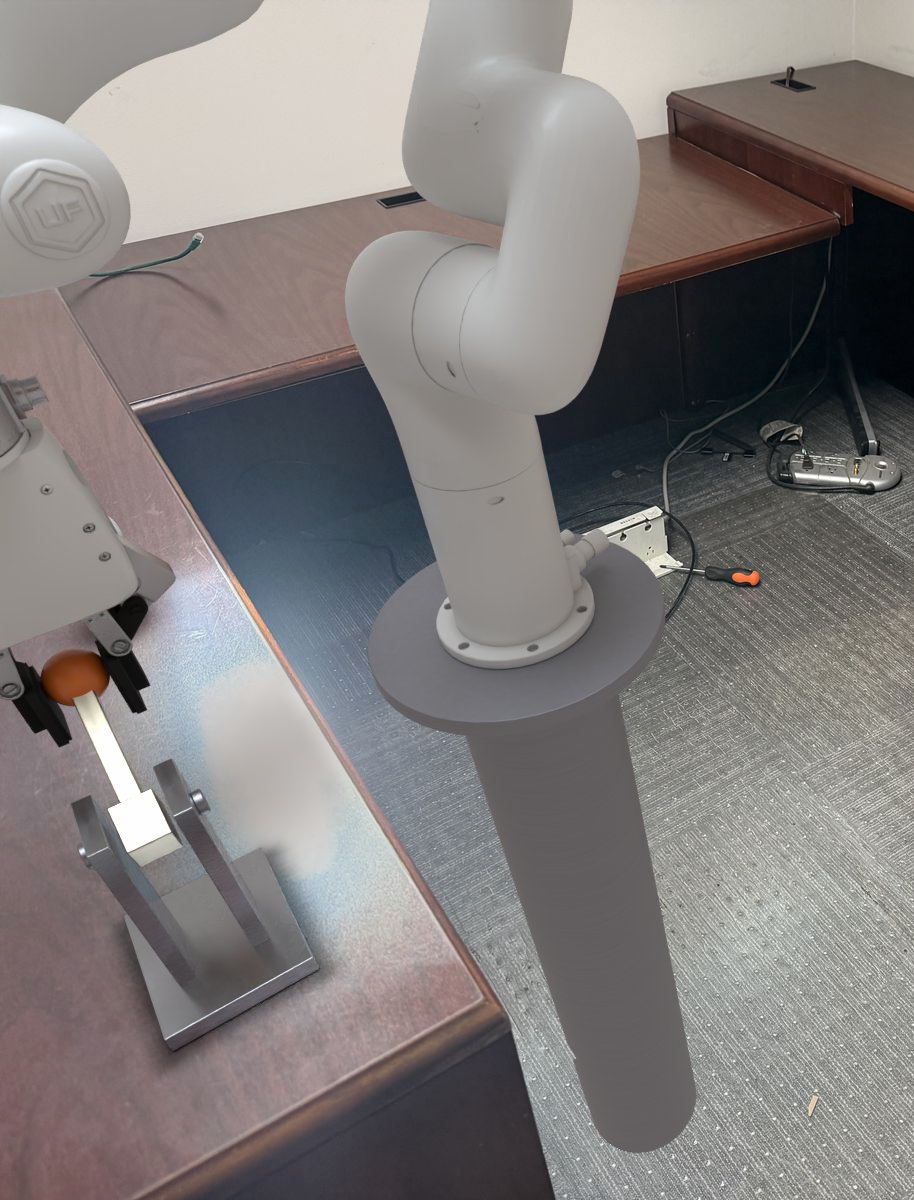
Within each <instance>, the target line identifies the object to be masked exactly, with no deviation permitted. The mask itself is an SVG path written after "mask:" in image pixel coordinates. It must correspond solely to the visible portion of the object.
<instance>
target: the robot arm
mask: <svg viewBox="0 0 914 1200" xmlns="http://www.w3.org/2000/svg"><path fill="white" fill-rule="evenodd" d="M264 1H265V0H0V299H6V298H12V297H17V296H24V295H29V294H33V293H39V292H43V291H48V290H52V289H57V288H61V287H64V286H67V285H70V284H73V283H74V284H75V283H76V282H80V281H81V280H83V279H86V278H88V277H89V276H92V275H93V274H94V273H96V272H98V271H100V270H101V269H102V268H104V266H106V265H108V264H109V262H111V261H112V260H113V258H115V256H116V255H117V253H118V252H119V251H120V249H121V248H122V246H123V244H124V243H125V241H126V238H127V236H128V232H129V230H130V225H131V217H132V216H131V213H132V212H131V201H130V197H129V193H128V190H127V187H126V184H125V182H124V180H123V178H122V177H123V176H121V174H120V171H119V170H118V168H117V167H116V166H115V164H114V163H113V162H112V160H110V158H109V157H108V156H107V154H106V153H105V152H104V151H102V149H101V148H99V147H98V146H97V145H96V144H95V143H94V142H93V141H92V140H90V139H89V138H87V137H86V136H85V135H83V134H82V133H80V132H79V131H77V130H75V129H74V128H73V127H70V126H68V125H66V123H67V121H68V120H69V119H70V118H71V117H72V116H73V115H74V113H76V112H77V110H78V109H79V108H80V107H81V106H83V104H84V103H86V102H87V101H88V100H89V99H91V97H93V95H95V94H96V93H97V92H98V91H100V90H101V89H102V88H104V87H105V86H107V85H108V84H109V83H111V81H114V80H115V79H116V78H119V77H120V76H122V75H124V74H125V73H126V72H128V71H131V70H132V69H134V68H137V67H139V66H140V65H143V64H145V63H147V62H150V61H153V60H155V59H157V58H158V59H159V58H161V57H164V56H166V55H167V56H168V55H170V54H173V53H176V52H179V51H182V50H186V49H188V48H192V47H195V46H197V45H201V44H202V43H205V42H208V41H210V40H213V39H215V38H217V37H219V36H221V35H224V34H225V33H227V32H229V31H231V30H233V29H235V28H237V27H238V26H240V25H242V24H243V23H245V22H246V21H248V20H249V19H250V18H252V16H253V15H254V14H255V13H257V12H258V10H260V9H259V8H260V7H261V6H262V4H263V3H264ZM573 7H574V0H429V3H428V8H427V9H428V10H427V14H426V18H425V23H424V29H423V31H422V32H423V33H422V37H421V43H420V47H419V51H418V56H417V61H416V66H415V71H414V75H413V76H414V77H413V80H412V85H411V89H410V95H409V100H408V104H407V109H406V113H405V114H406V115H405V119H404V126H403V130H402V139H401V159H402V165H403V169H404V171H405V175H406V177H407V180H408V182H409V183H410V186H412V187H413V189H415V191H416V192H417V194H418V195H419V196H420V197H421V198H422V199H424V200H426V201H427V202H429V203H430V204H432V205H433V206H435V207H437V208H438V209H441V210H443V211H446V212H448V213H450V214H453V215H456V216H459V217H462V218H466V219H470V220H474V221H478V222H480V223H481V222H482V223H485V224H489V225H492V226H493V225H494V226H497V227H501V228H503V230H502V236H501V240H500V246H499V249H498V248H495V247H493V246H491V245H488V244H484V243H480V242H476V241H472V240H469V239H464V238H462V237H461V238H460V237H459V236H458V237H457V236H453V235H449V234H445V233H440V232H435V231H430V230H429V231H428V230H402V231H395V232H392V233H388V234H386V235H383V236H381V237H379V238H377V239H375V240H374V241H372V242H371V243H369V244H368V245H366V246H365V247H364V249H363V250H362V251H361V252H360V253H359V254H358V255H357V257H356V258H355V260H354V262H353V264H352V265H351V268H350V270H349V273H348V275H347V279H346V282H345V289H344V308H345V315H346V321H347V324H348V329H349V331H350V334H351V338H352V341H353V343H354V345H355V348H356V349H357V352H358V354H359V356H360V358H361V360H362V363H364V365H365V367H366V369H367V371H368V373H369V375H370V377H371V378H372V379H371V380H373V382H374V384H375V386H376V388H377V390H378V392H379V394H380V396H381V398H382V400H383V402H384V404H385V406H386V409H387V411H388V415H389V416H390V418H391V422H392V424H393V426H394V429H395V431H396V435H397V437H398V440H399V441H398V442H399V443H400V444H399V445H400V447H401V449H402V453H403V456H404V460H405V463H406V465H407V469H408V472H409V475H410V478H411V482H412V485H413V488H414V491H415V495H416V498H417V501H418V504H419V508H420V511H421V514H422V517H423V520H424V524H425V527H426V530H427V533H428V536H429V541H430V543H431V547H432V549H433V553H434V556H435V560H436V561H437V563H438V566H439V569H440V572H441V575H442V579H443V582H444V585H445V588H446V592H447V595H448V597H447V598H446V599H445V600H444V602H443V604H442V605H441V607H440V609H439V612H438V615H437V618H436V628H437V632H438V635H439V639H440V641H441V643H442V645H443V647H444V649H445V650H446V651H447V652H448V653H449V654H450V655H451V656H453V657H454V658H456V659H458V660H459V661H461V662H463V663H466V664H469V665H472V666H476V667H482V668H488V669H508V668H518V667H523V666H527V665H531V664H535V663H538V662H541V661H543V660H546V659H549V658H551V657H553V656H555V655H557V654H559V653H561V652H562V651H564V650H565V649H567V648H568V647H570V646H571V645H573V644H574V643H575V642H576V641H577V640H578V639H579V638H580V637H581V636H582V635H583V634H584V633H585V631H586V630H587V629H588V627H589V626H590V624H591V622H592V619H593V617H594V611H595V603H594V596H593V592H592V590H591V587H590V585H589V584H588V582H587V581H586V579H585V578H584V577H582V576H581V575H580V572H582V571H583V570H584V569H585V567H586V562H587V561H588V560H589V559H591V558H594V557H596V556H597V555H598V554H600V553H601V552H602V551H604V550H605V549H606V548H608V546H609V542H610V540H609V539H610V538H608V536H607V534H606V532H604V531H603V530H602V529H600V528H594V529H592V530H591V531H590V532H588V533H587V534H584V535H585V536H584V537H583V538H581V539H580V540H579V542H578V543H577V544H575V545H574V546H572V544H573V543H575V541H576V539H575V536H574V534H575V533H574V534H573V532H572V531H571V530H569V529H566V528H565V529H564V530H563V531H561V530H560V529H561V528H560V526H559V521H558V520H559V519H558V516H557V511H556V507H555V501H554V498H553V492H552V488H551V484H550V478H549V473H548V470H547V465H546V459H545V456H544V450H543V446H542V439H541V436H540V431H539V427H538V422H537V419H536V416H543V415H548V414H552V413H555V412H557V411H559V410H562V409H563V408H565V407H567V406H568V405H569V404H570V403H572V401H573V400H575V399H576V397H578V395H579V394H580V393H581V391H582V390H583V389H584V387H585V386H586V384H587V383H588V381H589V379H590V377H591V376H592V373H593V371H594V369H595V366H596V363H597V361H598V358H599V355H600V352H601V348H602V345H603V342H604V338H605V335H606V331H607V327H608V324H609V319H610V316H611V311H612V309H613V308H612V307H613V304H614V300H615V296H616V293H617V287H618V284H619V281H620V276H621V273H622V268H623V264H624V261H625V257H626V253H627V248H628V244H629V241H630V237H631V232H632V229H633V224H634V220H635V217H636V210H637V205H638V201H639V195H640V187H641V159H640V150H639V148H640V147H639V145H638V138H637V135H636V131H635V129H634V126H633V124H632V122H631V119H630V116H629V115H628V113H627V111H626V110H625V108H624V106H622V104H621V103H620V101H619V100H618V99H617V98H616V97H615V96H614V95H613V94H612V93H611V92H610V91H608V90H607V89H606V88H604V87H603V86H601V85H599V84H598V83H595V82H594V81H593V82H592V81H590V80H588V79H585V78H583V77H578V76H575V75H570V74H565V73H562V72H563V67H564V63H565V62H564V61H565V57H566V50H567V44H568V39H569V34H570V28H571V23H572V18H573V9H574V8H573ZM49 402H50V401H49V399H48V397H47V394H46V393H45V391H44V389H43V387H42V384H41V383H40V381H39V379H38V377H37V376H36V374H35V375H31V376H27V377H24V378H21V379H18V377H17V376H16V377H13V378H9V379H8V378H7V376H6V375H5V374H4V373H2V374H0V699H1V700H3V701H11V703H12V704H13V705H14V707H15V709H16V710H17V711H18V712H19V714H20V715H21V717H22V718H23V720H24V721H25V723H26V724H27V725H28V727H29V728H30V730H31V731H32V733H33V734H34V735H35V734H39V733H41V732H43V731H47V732H48V734H49V736H50V738H52V740H53V741H54V742H55V744H56V746H57V747H58V748H63V747H65V746H67V745H70V741H72V740H73V736H72V733H71V731H70V728H69V725H68V721H67V719H66V715H65V714H64V711H63V710H62V708H61V706H60V704H59V703H56V702H55V701H53V700H52V699H50V698H49V697H48V696H47V695H46V693H45V692H44V690H43V688H42V686H41V681H40V677H41V675H40V674H39V672H38V671H37V669H36V668H35V667H34V665H28V663H27V662H26V661H25V662H22V661H17V660H16V657H15V655H14V653H13V650H12V647H14V646H16V645H19V644H22V643H25V642H27V641H30V640H33V639H35V638H37V637H40V636H41V637H42V636H44V635H46V634H48V633H51V632H53V631H56V630H59V629H62V628H65V627H66V626H69V625H71V624H75V623H77V622H79V621H82V622H83V623H84V625H85V626H86V628H88V629H89V631H90V632H91V633H92V634H93V635H94V638H95V640H94V643H95V647H96V649H97V651H98V653H99V654H98V655H99V656H100V657H101V659H102V661H103V664H104V666H105V668H106V670H107V671H108V673H109V675H110V679H111V681H112V682H113V684H114V685H115V687H116V689H117V690H118V691H119V693H120V695H121V697H122V698H123V700H124V702H125V703H126V705H127V707H128V709H129V710H130V712H131V713H132V714H133V715H134V714H135V713H136V714H137V715H140V714H142V713H144V712H147V711H148V708H147V706H146V704H145V703H146V702H145V701H144V699H143V696H142V694H141V692H140V691H142V690H144V689H146V688H149V687H151V686H152V685H151V683H150V681H149V678H148V676H147V674H146V673H145V671H144V668H143V667H142V665H141V663H140V661H139V660H138V658H137V657H136V655H135V653H134V651H133V647H134V646H133V645H134V644H133V642H132V641H133V639H134V637H135V636H136V634H137V632H138V630H139V628H140V627H141V624H142V623H143V622H144V620H145V618H146V616H147V613H148V611H149V607H150V606H151V605H152V604H153V603H156V602H157V601H158V600H159V599H160V598H161V597H162V596H163V595H164V594H165V593H166V592H167V591H168V590H169V589H170V588H171V587H172V586H173V585H174V583H176V580H177V576H176V574H175V572H174V570H173V569H172V567H171V564H169V563H168V562H167V561H165V560H164V559H162V558H160V557H158V556H157V555H155V554H153V553H152V552H150V551H148V550H147V549H144V548H143V547H141V546H140V545H137V544H136V543H134V542H132V541H130V540H128V538H126V537H124V536H123V537H122V536H120V535H119V534H118V533H117V531H116V529H115V527H114V525H113V524H112V522H111V520H110V519H109V517H110V516H109V515H108V514H107V511H106V510H105V508H104V507H103V505H102V504H101V502H100V500H99V499H98V497H97V495H96V494H95V492H94V490H93V489H92V487H91V485H90V483H89V482H88V480H87V479H86V478H85V476H84V475H83V473H82V471H81V470H80V467H78V465H77V464H76V462H75V460H74V459H73V458H72V457H71V455H70V454H69V453H68V451H67V450H66V448H64V446H63V445H62V444H61V442H60V441H59V440H58V438H57V437H56V435H54V434H53V432H52V431H51V430H50V429H49V428H48V426H47V425H46V424H45V423H44V422H43V421H42V420H41V419H40V418H38V417H36V416H33V415H27V414H26V412H29V411H32V410H34V407H36V406H39V405H42V404H46V403H49ZM108 516H109V517H108Z"/></svg>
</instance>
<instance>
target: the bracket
mask: <svg viewBox="0 0 914 1200" xmlns="http://www.w3.org/2000/svg"><path fill="white" fill-rule="evenodd" d="M152 769H153V772H154V774H155V777H156V779H157V781H158V784H159V786H160V789H161V791H162V794H163V797H164V798H165V801H166V804H167V806H168V809H169V811H170V814H171V816H172V818H173V820H174V821H175V823H176V825H177V826H178V828H179V829H180V831H181V833H182V834H183V836H184V838H185V840H186V841H187V843H188V844H189V845H190V847H191V849H192V851H193V852H194V854H195V855H196V857H197V859H198V861H199V863H201V865H202V866H203V868H204V870H205V871H206V873H207V874H204V875H202V876H200V877H199V878H195V880H193V881H191V882H188V883H187V884H185V885H183V886H180V887H179V888H176V889H174V890H173V891H170V892H169V893H166V894H165V895H162V896H161V895H160V894H159V892H158V891H157V890H156V888H155V886H154V885H153V884H152V883H151V881H150V879H149V878H148V877H147V875H146V874H145V872H144V871H143V869H142V867H140V866H138V865H137V864H136V862H135V861H134V860H133V859H132V858H131V857H130V856H129V855H128V854H127V853H126V851H125V849H124V847H123V844H122V842H121V840H120V838H119V836H118V833H117V831H116V829H115V827H114V825H112V823H111V822H110V821H109V819H108V817H107V816H106V815H105V813H104V811H103V810H102V809H101V807H100V806H99V804H98V802H97V801H96V800H95V798H94V797H93V796H92V794H89V795H86V796H84V797H82V798H80V799H78V800H77V799H76V800H75V801H73V802H71V803H70V804H69V805H70V809H71V811H72V815H73V818H74V821H75V824H76V828H77V832H78V834H79V838H80V840H81V843H78V844H77V845H76V849H77V853H78V855H79V857H80V859H81V861H82V862H83V864H84V865H85V867H86V868H87V869H88V870H92V869H94V870H95V871H96V873H97V874H98V875H99V877H100V878H101V880H102V881H103V882H104V884H105V885H106V887H107V888H108V889H109V890H110V892H111V893H112V895H113V896H114V898H115V899H116V900H117V902H118V903H119V904H120V906H121V907H122V909H123V910H124V911H125V913H126V914H125V915H123V919H124V922H125V925H126V929H127V931H128V934H129V937H130V941H131V943H132V946H133V949H134V952H135V955H136V958H137V962H138V965H139V968H140V970H141V974H142V976H143V980H144V983H145V986H146V989H147V992H148V995H149V999H150V1001H151V1004H152V1007H153V1010H154V1013H155V1016H156V1020H157V1023H158V1025H159V1028H160V1031H161V1034H162V1038H163V1041H164V1042H165V1043H166V1044H167V1045H168V1047H169V1049H171V1051H172V1052H175V1051H177V1050H178V1049H181V1048H182V1047H184V1046H186V1045H187V1044H190V1043H191V1042H192V1041H194V1040H197V1039H198V1038H199V1037H201V1036H203V1035H205V1034H207V1033H208V1032H211V1031H212V1030H214V1029H216V1028H217V1027H219V1026H221V1025H223V1024H225V1023H226V1022H228V1021H230V1020H231V1019H233V1018H235V1017H237V1016H239V1015H241V1014H242V1013H244V1012H246V1011H247V1010H250V1009H251V1008H253V1007H255V1006H256V1005H258V1004H260V1003H262V1002H263V1001H265V1000H266V999H268V998H270V997H273V996H274V995H276V994H277V993H279V992H281V991H283V990H284V989H286V988H288V987H289V986H291V985H293V984H295V983H297V982H299V981H301V980H303V979H304V978H306V977H307V976H309V975H312V974H313V973H315V972H317V971H319V969H320V967H319V965H318V963H317V960H316V959H315V956H314V954H313V952H312V950H311V947H310V945H309V943H308V942H307V939H306V937H305V935H304V933H303V931H302V929H301V927H300V925H299V923H298V921H297V918H296V916H295V915H294V914H295V913H294V912H293V910H292V907H291V906H290V904H289V902H288V900H287V898H286V897H287V896H285V893H284V890H283V889H282V887H281V884H280V882H279V881H278V879H277V876H276V874H275V872H274V870H273V868H272V866H271V863H270V862H269V860H268V858H267V856H266V854H265V852H264V850H263V848H262V847H257V848H256V849H254V850H252V851H250V852H248V853H246V854H244V855H242V856H240V857H238V858H236V859H234V860H233V859H232V857H231V856H230V854H229V852H228V850H227V849H226V847H225V845H224V843H223V842H222V841H221V840H222V839H220V836H219V835H218V834H217V832H216V830H215V829H214V827H213V825H212V823H211V821H210V820H209V818H208V817H207V814H209V813H211V812H212V809H211V806H210V804H209V802H208V800H207V798H206V797H205V795H204V793H203V791H202V790H201V789H200V788H196V789H194V790H192V789H191V787H190V786H189V784H188V782H187V781H186V779H185V777H184V776H183V774H182V772H181V770H180V769H179V767H178V766H177V764H176V761H175V760H174V759H173V758H169V759H166V760H165V761H162V762H160V763H158V764H155V765H153V766H152Z"/></svg>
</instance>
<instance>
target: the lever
mask: <svg viewBox="0 0 914 1200" xmlns="http://www.w3.org/2000/svg"><path fill="white" fill-rule="evenodd" d="M40 681H41V686H42V688H43V690H44V692H45V693H46V695H47V696H48V697H49V698H50V699H52V700H53V701H55V702H56V703H58V705H61V706H65V707H74V708H75V709H76V712H77V714H78V716H79V718H80V721H81V723H82V724H83V727H84V729H85V732H86V734H87V736H88V738H89V740H90V742H91V744H92V747H93V748H94V751H95V753H96V755H97V757H98V759H99V761H100V764H101V766H102V768H103V770H104V772H105V774H106V777H107V779H108V781H109V783H110V786H111V788H112V790H113V792H114V794H115V797H116V799H117V801H118V803H116V804H114V805H111V806H109V807H108V808H106V811H107V813H108V816H109V818H110V820H111V822H112V824H113V825H112V826H113V828H114V829H115V831H116V832H117V834H118V836H119V838H120V840H121V842H122V844H123V847H124V849H125V851H126V853H127V854H128V855H129V856H130V857H131V858H132V859H133V860H134V861H135V862H136V864H137V865H138V866H140V868H142V867H143V866H146V865H148V864H149V863H152V862H155V861H156V860H158V859H160V858H162V857H164V856H166V855H169V854H170V853H173V852H175V851H176V850H179V849H181V848H183V847H184V844H183V843H184V842H183V841H182V839H181V837H180V835H179V833H178V830H177V829H176V826H175V824H174V822H173V820H172V818H171V816H170V814H169V811H168V810H167V808H166V805H165V803H164V802H163V801H162V800H161V798H160V797H159V796H158V794H156V791H154V790H153V788H149V789H146V790H143V788H142V785H141V783H140V782H139V779H138V777H137V775H136V773H135V771H134V768H133V767H132V764H131V762H130V760H129V757H128V756H127V754H126V752H125V750H124V747H123V746H122V743H121V741H120V739H119V737H118V735H117V733H116V730H115V728H114V726H113V724H112V722H111V720H110V718H109V716H108V714H107V711H106V709H105V707H104V705H103V702H102V700H101V697H102V696H103V695H104V694H105V692H106V691H107V690H108V687H109V685H110V681H111V676H110V675H109V673H108V671H107V670H106V668H105V666H104V664H103V661H102V659H101V656H100V654H98V653H96V652H94V651H92V650H90V649H86V648H80V647H76V648H75V647H72V648H67V649H63V650H61V651H58V652H56V653H55V654H53V655H52V656H51V657H49V659H47V661H46V662H45V663H44V665H43V666H42V669H41V671H40Z"/></svg>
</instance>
